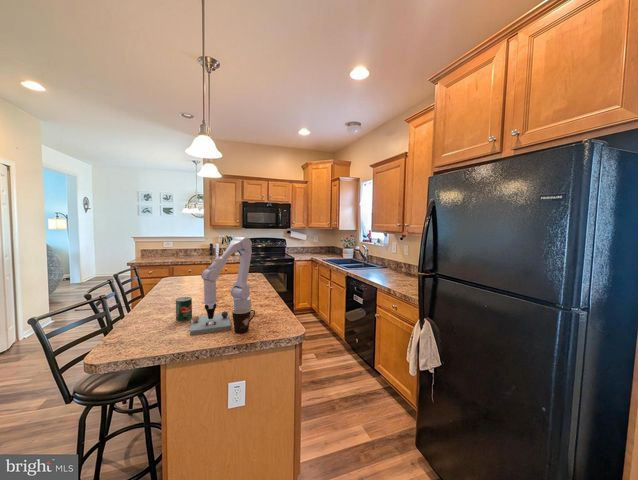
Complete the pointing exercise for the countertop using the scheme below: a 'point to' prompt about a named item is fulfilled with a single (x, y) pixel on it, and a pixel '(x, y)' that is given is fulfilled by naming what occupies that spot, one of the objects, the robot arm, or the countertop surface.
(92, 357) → the countertop surface
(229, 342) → the countertop surface
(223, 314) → the black rubber ball
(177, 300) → the canned tomato
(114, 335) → the countertop surface
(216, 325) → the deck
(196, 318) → the terracotta ball
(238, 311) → the coffee mug
